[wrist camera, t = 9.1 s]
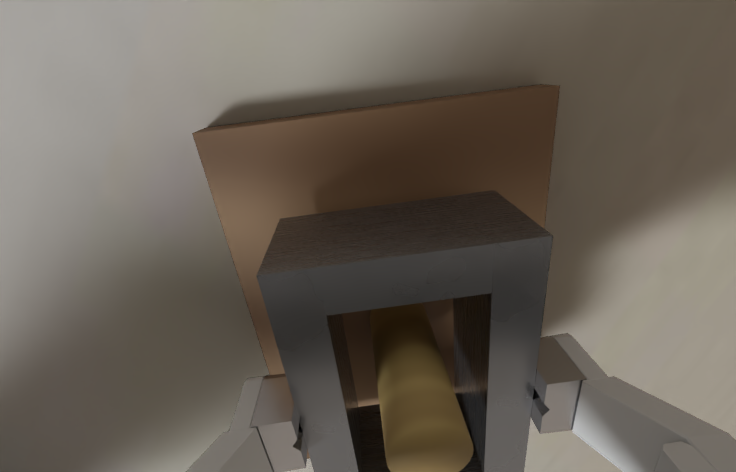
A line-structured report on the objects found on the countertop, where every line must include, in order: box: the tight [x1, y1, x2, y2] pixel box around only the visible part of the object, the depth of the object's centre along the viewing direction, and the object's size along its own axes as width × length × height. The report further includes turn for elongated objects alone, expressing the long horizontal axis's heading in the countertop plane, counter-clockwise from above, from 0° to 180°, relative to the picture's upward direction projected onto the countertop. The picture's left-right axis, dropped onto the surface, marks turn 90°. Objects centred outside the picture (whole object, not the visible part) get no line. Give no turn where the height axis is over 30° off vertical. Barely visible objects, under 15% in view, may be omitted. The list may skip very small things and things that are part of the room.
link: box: [256, 190, 553, 472], centre depth 10 cm, size 9×6×3 cm, turn 7°
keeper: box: [192, 84, 560, 472], centre depth 11 cm, size 14×10×6 cm
